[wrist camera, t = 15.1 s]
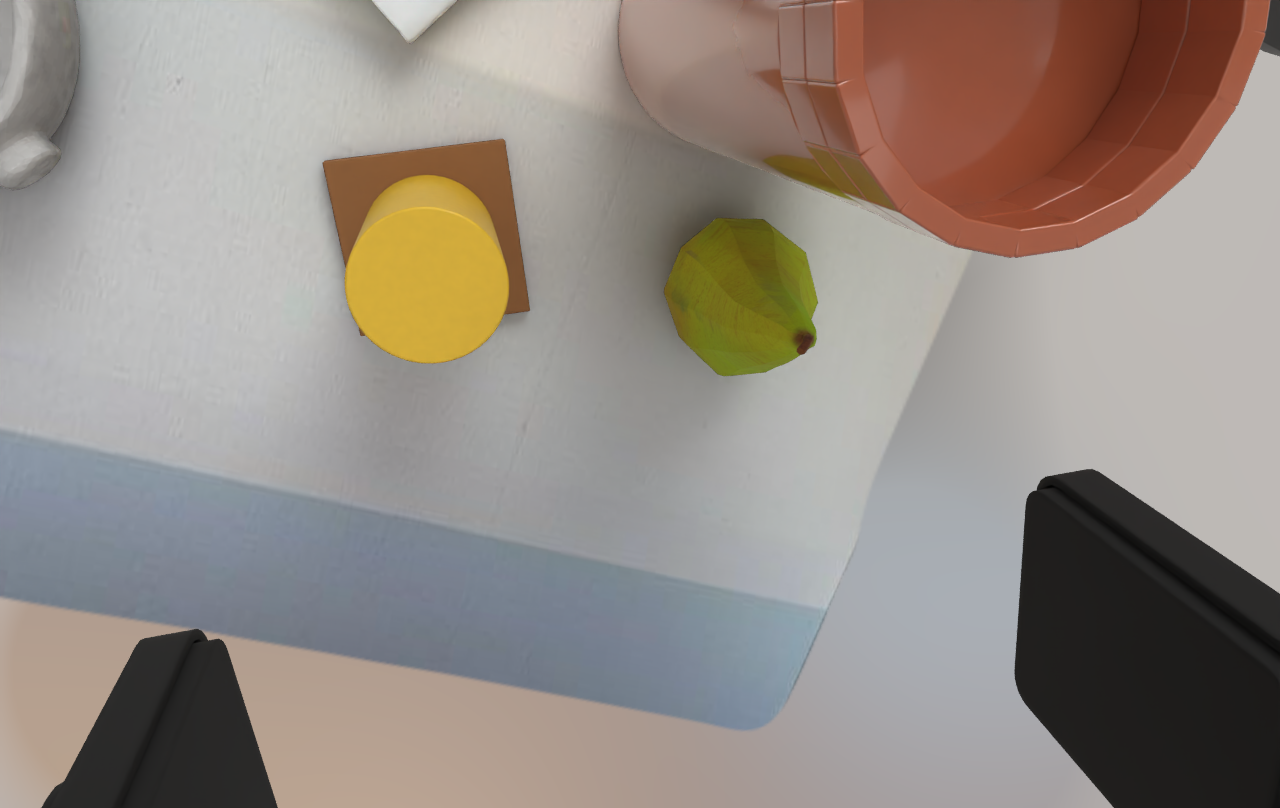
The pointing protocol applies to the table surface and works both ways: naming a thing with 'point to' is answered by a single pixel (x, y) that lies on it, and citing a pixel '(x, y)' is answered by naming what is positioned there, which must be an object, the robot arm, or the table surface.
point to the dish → (34, 84)
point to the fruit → (742, 297)
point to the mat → (464, 163)
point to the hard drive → (413, 14)
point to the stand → (954, 102)
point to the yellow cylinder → (427, 271)
